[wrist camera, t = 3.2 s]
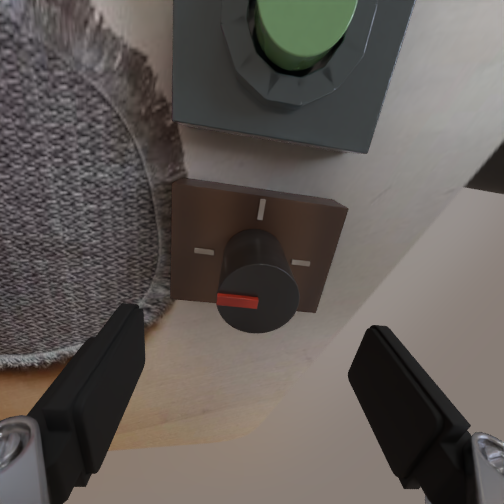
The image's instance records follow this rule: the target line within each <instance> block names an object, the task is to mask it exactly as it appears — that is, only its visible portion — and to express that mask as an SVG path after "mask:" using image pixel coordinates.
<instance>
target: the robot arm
mask: <svg viewBox="0 0 504 504" xmlns="http://www.w3.org/2000/svg"><path fill="white" fill-rule="evenodd" d="M144 364H145V339H144V314H143V309H139V306H138V305H137V304H125V303H122V304H121V305H120V306H119V307H118V308H117V310H116V311H115V312H114V314H113V315H112V316H111V317H110V319H109V320H108V321H107V323H106V324H105V325H104V327H103V328H102V329H101V331H100V332H99V333H98V335H97V336H96V337H95V338H94V337H91V338H89V339H88V340H87V341H86V342H85V343H84V344H83V345H82V346H81V348H80V349H79V350H78V351H77V353H76V354H75V355H74V356H73V358H72V359H71V360H70V361H69V363H68V364H67V365H66V367H65V368H64V369H63V370H62V372H61V373H60V374H59V375H58V377H57V378H56V379H55V380H54V382H53V383H52V384H51V385H50V387H49V388H48V389H47V391H46V392H45V393H44V394H43V396H42V397H41V398H40V399H39V401H38V402H37V403H36V404H35V406H34V407H33V408H32V409H31V411H30V412H29V413H28V414H27V416H23V415H20V416H14V417H9V418H6V419H4V420H1V421H0V504H63V503H64V502H65V501H67V500H68V498H69V496H70V494H71V492H72V489H73V488H74V487H86V485H87V483H88V481H89V478H90V476H91V474H95V473H97V472H98V471H99V469H100V467H101V465H102V462H103V460H104V458H105V456H106V453H107V451H108V449H109V447H110V444H111V442H112V440H113V437H114V435H115V433H116V430H117V428H118V426H119V423H120V421H121V419H122V417H123V414H124V412H125V410H126V407H127V405H128V403H129V400H130V398H131V396H132V393H133V391H134V389H135V386H136V384H137V382H138V380H139V377H140V375H141V373H142V370H143V368H144ZM348 378H349V382H350V384H351V386H352V388H353V390H354V392H355V394H356V396H357V398H358V400H359V403H360V405H361V407H362V409H363V411H364V413H365V415H366V417H367V419H368V421H369V424H370V425H371V428H372V430H373V432H374V434H375V436H376V438H377V440H378V443H379V445H380V447H381V449H382V451H383V453H384V455H385V457H386V459H387V461H388V463H389V466H390V468H391V470H392V471H393V473H394V474H395V476H397V477H398V478H399V480H400V482H401V484H402V486H403V488H404V489H419V488H420V487H421V488H422V490H423V491H424V493H425V504H504V442H502V441H501V440H499V439H498V438H496V437H494V436H492V435H489V434H486V433H482V432H475V433H474V434H473V435H472V436H471V435H470V433H469V432H468V431H467V430H468V428H469V427H470V426H471V425H470V424H469V423H468V422H467V420H466V419H465V418H464V417H463V416H462V415H461V413H460V412H459V411H458V410H457V409H456V407H455V406H454V405H453V404H452V403H451V401H450V400H449V399H448V398H447V397H446V395H445V394H444V393H443V392H442V391H441V389H440V388H439V387H438V386H437V385H436V384H435V382H434V381H433V380H432V379H431V377H429V375H428V374H427V373H426V372H425V370H424V369H423V368H422V367H421V366H420V364H419V363H418V362H417V361H416V360H415V358H414V357H413V356H412V355H411V354H410V352H409V351H408V350H407V349H406V348H405V346H403V344H402V343H401V342H400V341H399V339H398V338H397V337H396V336H395V335H394V333H393V332H392V331H391V330H390V329H389V328H388V327H387V326H379V325H372V326H371V327H370V328H368V329H367V330H366V332H365V335H364V337H363V339H362V341H361V344H360V346H359V349H358V351H357V353H356V355H355V358H354V360H353V362H352V365H351V367H350V369H349V372H348Z"/></svg>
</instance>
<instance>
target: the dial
mask: <svg viewBox="0 0 504 504" xmlns="http://www.w3.org/2000/svg"><path fill="white" fill-rule="evenodd" d="M299 299H300V295H299V289H298V286H297V284H296V281H295V279H294V276H293V274H292V271H291V269H290V266H289V264H288V261H287V259H286V256H285V254H284V251H283V249H282V247H281V244H280V243H279V241H278V240H277V239H276V237H274V236H273V235H272V234H270V233H269V232H266V231H264V230H260V229H248V230H244V231H241V232H239V233H237V234H236V235H234V236H233V237H232V238H231V239H230V240H229V242H228V243H227V245H226V247H225V250H224V255H223V261H222V267H221V273H220V278H219V284H218V290H217V296H216V305H217V308H218V311H219V313H220V315H221V316H222V318H223V319H224V320H225V321H226V322H227V323H228V324H229V325H231V326H232V327H234V328H236V329H238V330H240V331H243V332H247V333H265V332H270V331H273V330H275V329H278V328H280V327H281V326H283V325H284V324H286V323H287V322H288V321H289V320H290V319H291V318H292V317H293V315H294V314H295V312H296V310H297V308H298V305H299Z"/></svg>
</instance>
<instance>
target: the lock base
mask: <svg viewBox="0 0 504 504" xmlns="http://www.w3.org/2000/svg"><path fill="white" fill-rule="evenodd" d="M347 212H348V208H347V207H345V206H343V205H342V204H340V203H338V202H336V201H334V200H332V199H325V198H318V197H311V196H304V195H298V194H291V193H284V192H277V191H270V190H263V189H257V188H250V187H243V186H236V185H229V184H223V183H216V182H209V181H202V180H195V179H189V178H181V179H179V180H177V181H175V182H173V183H172V207H171V284H170V299H178V300H188V301H199V302H209V303H216V296H217V290H218V284H219V278H220V273H221V267H222V261H223V255H224V250H225V247H226V245H227V243H228V242H229V240H230V239H231V238H232V237H233V236H234V235H236V234H237V233H239V232H241V231H244V230H248V229H260V230H264V231H266V232H269V233H270V234H272V235H273V236H274V237H276V239H277V240H278V241H279V243H280V244H281V247H282V249H283V251H284V254H285V256H286V259H287V261H288V264H289V266H290V269H291V271H292V274H293V276H294V279H295V281H296V284H297V286H298V289H299V295H300V299H299V305H298V308H297V310H296V311H301V312H311V313H316V310H317V307H318V304H319V301H320V298H321V294H322V291H323V288H324V285H325V282H326V279H327V275H328V272H329V269H330V266H331V263H332V260H333V256H334V253H335V250H336V247H337V244H338V241H339V237H340V234H341V231H342V228H343V225H344V222H345V218H346V215H347Z"/></svg>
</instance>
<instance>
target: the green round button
mask: <svg viewBox="0 0 504 504" xmlns="http://www.w3.org/2000/svg"><path fill="white" fill-rule="evenodd" d="M357 2H358V0H255V9H254V25H255V31H256V36H257V39H258V42H259V44H260V46H261V48H262V50H263V52H264V53H265V55H266V56H267V57H268V58H269V60H270V61H272V62H273V63H274V64H275V65H277V66H278V67H280V68H282V69H285V70H290V71H300V70H305V69H307V68H310V67H312V66H313V65H315V64H316V63H318V62H319V61H320V60H321V59H322V58H323V57H324V56H325V55H326V54H327V53H328V52H329V51H330V50H331V48H332V47H333V46H334V45H335V44H336V43H337V42H338V41H339V39H340V38H341V37H342V36H343V34H344V33H345V31H346V30H347V28H348V26H349V25H350V23H351V21H352V18H353V16H354V13H355V10H356V6H357Z"/></svg>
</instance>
